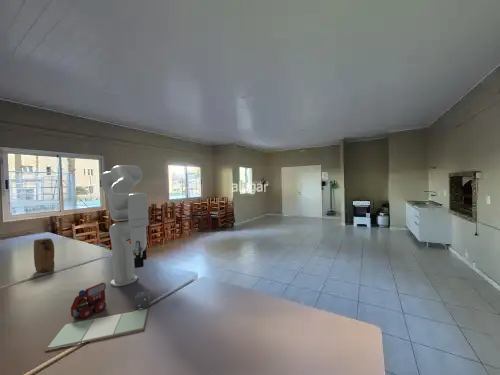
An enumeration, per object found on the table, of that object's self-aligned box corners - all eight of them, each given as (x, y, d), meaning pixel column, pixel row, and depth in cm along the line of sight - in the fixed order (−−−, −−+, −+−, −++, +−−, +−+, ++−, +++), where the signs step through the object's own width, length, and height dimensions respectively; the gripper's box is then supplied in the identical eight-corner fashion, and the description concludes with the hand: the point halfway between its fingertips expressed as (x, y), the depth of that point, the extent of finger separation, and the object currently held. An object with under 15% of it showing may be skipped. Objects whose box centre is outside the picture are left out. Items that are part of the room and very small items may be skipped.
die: (137, 303, 99) (137, 291, 99) (150, 301, 101) (150, 289, 101) (135, 310, 94) (134, 297, 94) (149, 307, 96) (148, 295, 96)
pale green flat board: (65, 325, 85) (65, 323, 85) (148, 310, 93) (148, 308, 93) (45, 352, 72) (44, 349, 72) (143, 330, 80) (143, 328, 80)
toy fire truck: (67, 318, 90) (66, 292, 90) (101, 303, 100) (100, 280, 100) (75, 323, 86) (74, 296, 86) (110, 307, 97) (109, 283, 97)
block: (33, 271, 144) (31, 239, 144) (48, 267, 151) (46, 236, 151) (42, 273, 140) (40, 240, 139) (57, 269, 147) (55, 238, 146)
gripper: (132, 220, 104) (134, 258, 104) (124, 227, 87) (126, 272, 88) (150, 219, 106) (152, 256, 106) (145, 225, 90) (148, 268, 90)
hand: (141, 263), depth 97 cm, fingers open, 9 cm apart
